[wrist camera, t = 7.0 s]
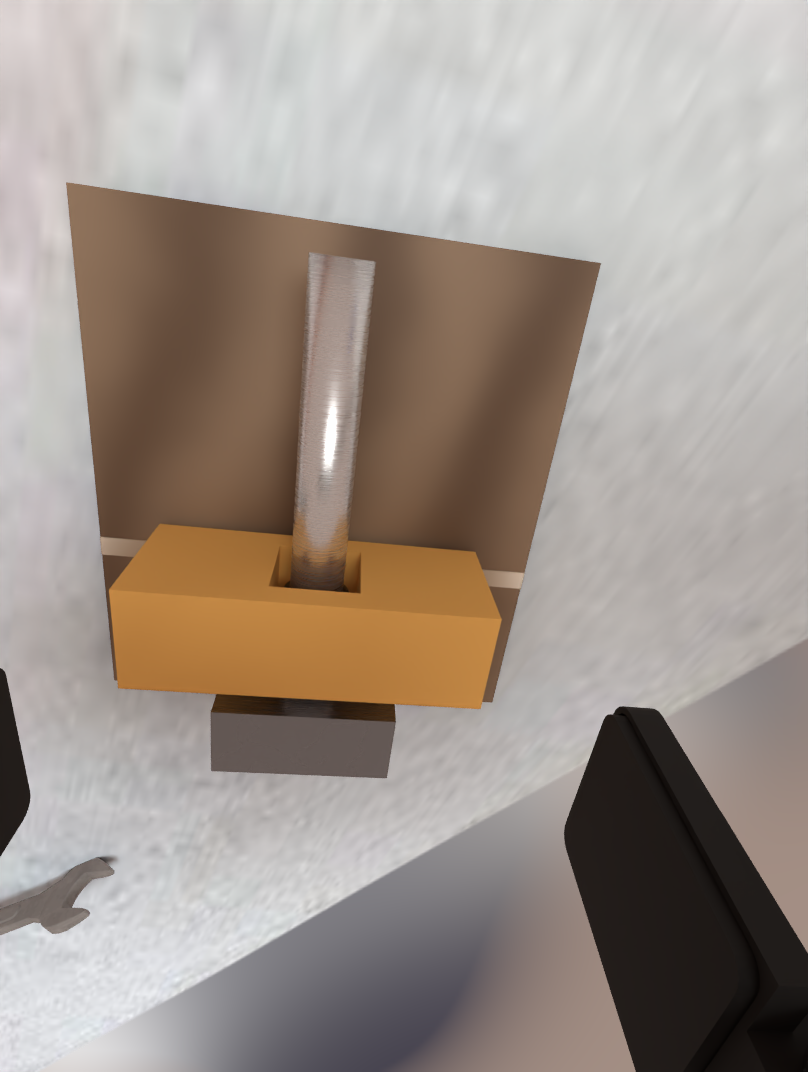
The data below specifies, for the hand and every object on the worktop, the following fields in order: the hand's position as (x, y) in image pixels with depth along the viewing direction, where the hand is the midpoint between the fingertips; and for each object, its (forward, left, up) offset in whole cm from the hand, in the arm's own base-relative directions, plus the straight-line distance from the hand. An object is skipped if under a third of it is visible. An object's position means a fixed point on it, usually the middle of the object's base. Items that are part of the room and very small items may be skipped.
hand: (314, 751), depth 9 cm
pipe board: (+1, +2, -16) cm, 16 cm away
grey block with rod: (+1, +2, -15) cm, 16 cm away
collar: (+1, +5, -15) cm, 16 cm away
